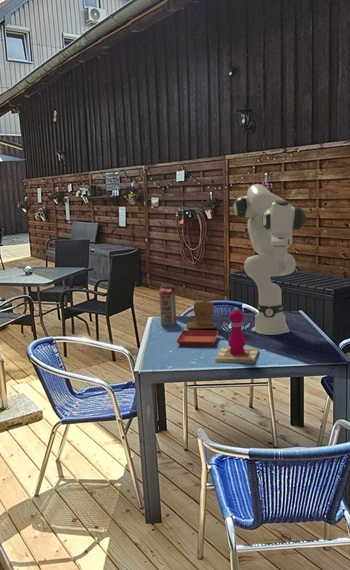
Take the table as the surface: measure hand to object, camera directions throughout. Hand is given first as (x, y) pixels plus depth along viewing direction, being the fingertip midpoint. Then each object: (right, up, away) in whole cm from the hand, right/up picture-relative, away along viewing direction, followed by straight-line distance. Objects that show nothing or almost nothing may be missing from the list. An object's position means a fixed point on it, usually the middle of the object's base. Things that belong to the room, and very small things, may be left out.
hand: (281, 272), depth 217 cm
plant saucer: (-34, -33, +27) cm, 55 cm away
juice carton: (-49, -27, +63) cm, 84 cm away
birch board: (-19, -36, +2) cm, 41 cm away
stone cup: (-32, -28, +50) cm, 66 cm away
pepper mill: (-19, -35, +1) cm, 39 cm away
